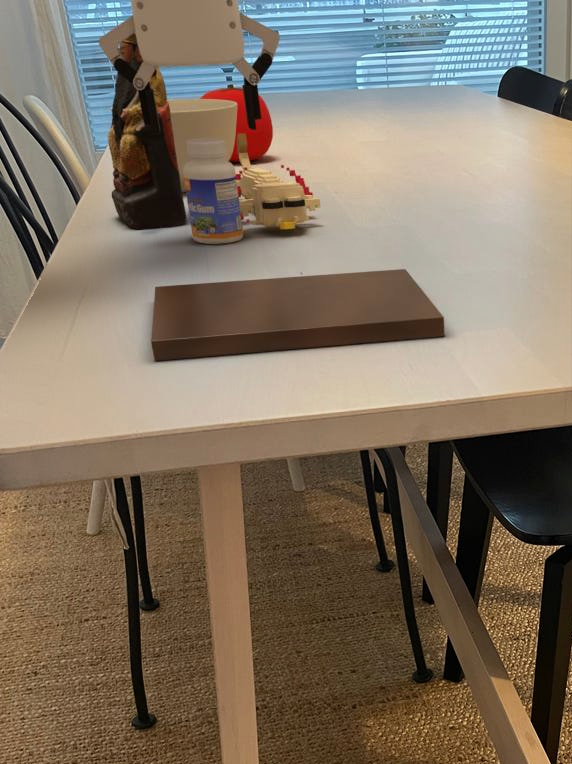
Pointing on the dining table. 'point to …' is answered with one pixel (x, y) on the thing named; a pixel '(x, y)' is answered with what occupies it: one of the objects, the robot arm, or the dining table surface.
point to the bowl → (201, 125)
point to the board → (290, 314)
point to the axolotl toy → (271, 194)
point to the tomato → (255, 138)
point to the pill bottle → (212, 192)
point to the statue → (143, 154)
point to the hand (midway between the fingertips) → (204, 130)
